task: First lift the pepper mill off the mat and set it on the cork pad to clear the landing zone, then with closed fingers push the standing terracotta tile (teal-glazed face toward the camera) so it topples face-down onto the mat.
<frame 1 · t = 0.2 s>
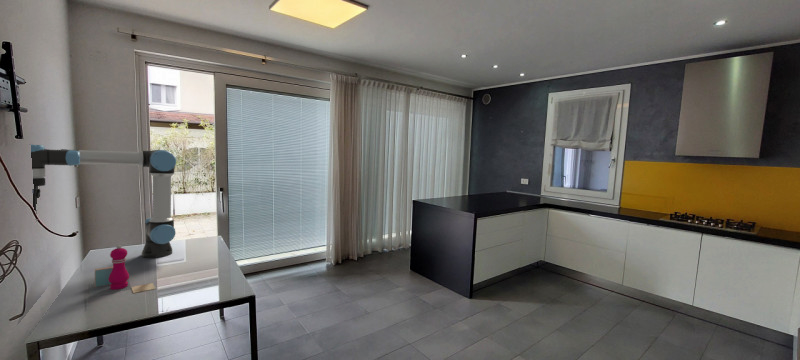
hand: (34, 222, 152), 28 cm above the table, fingers open, 13 cm apart
pepper mill: (119, 287, 149), resting on mat
mat: (110, 287, 149), on the table
cork pad: (143, 288, 149), on the table
tile: (106, 284, 151), resting on mat
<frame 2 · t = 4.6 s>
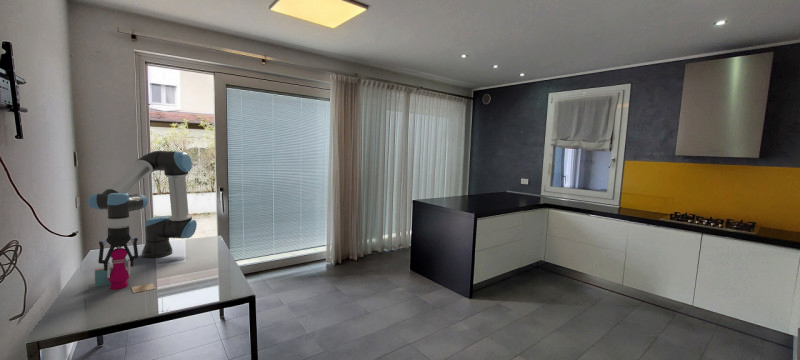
hand: (119, 275, 149), 6 cm above the table, fingers closed on pepper mill, 6 cm apart
pepper mill: (119, 287, 149), resting on mat, touching gripper
everything else where it was.
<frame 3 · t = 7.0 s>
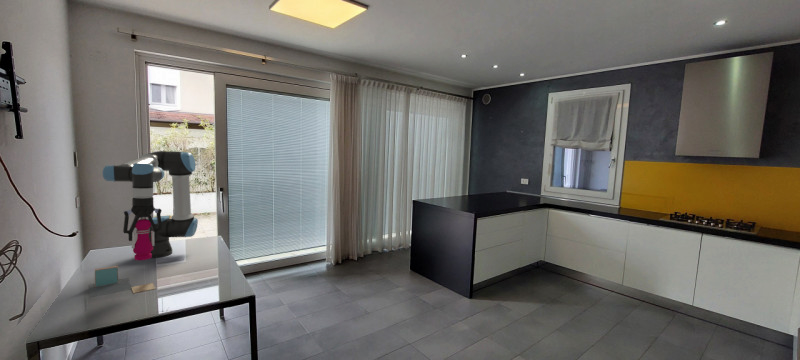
hand: (143, 246, 148), 20 cm above the table, fingers closed on pepper mill, 6 cm apart
pepper mill: (143, 258, 148), point 14 cm above the table, touching gripper
everything else where it was.
when the fingers open (7 cm above the table, at t = 9.6 s): pepper mill drops 1 cm, resting on cork pad.
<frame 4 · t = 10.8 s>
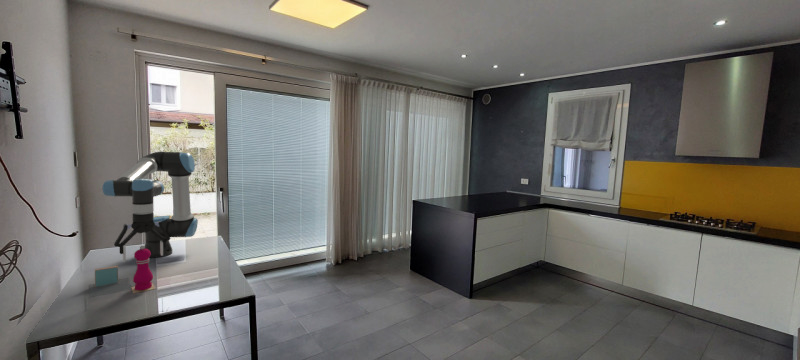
hand: (143, 257, 149), 15 cm above the table, fingers open, 13 cm apart
pepper mill: (143, 287, 149), resting on cork pad
everything else where it was.
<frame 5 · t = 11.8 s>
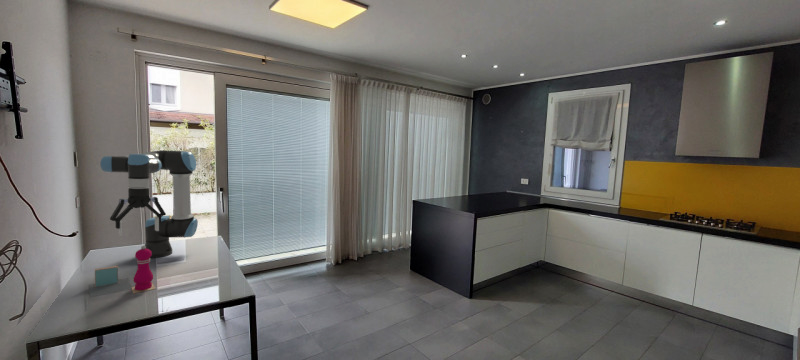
hand: (139, 232, 149), 26 cm above the table, fingers open, 13 cm apart
nothing on the table moved.
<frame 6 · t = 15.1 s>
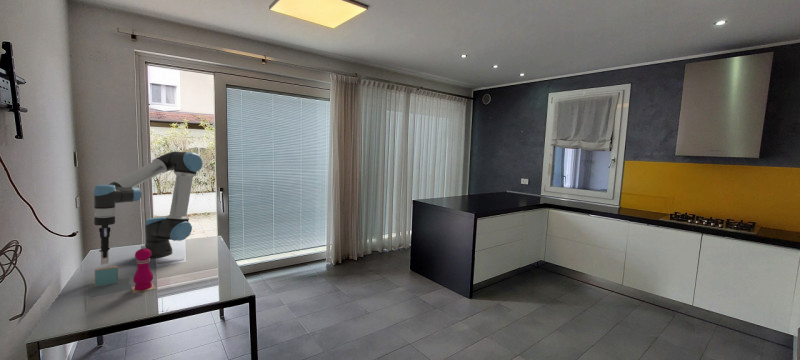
hand: (104, 263, 158), 8 cm above the table, fingers closed
nothing on the table moved.
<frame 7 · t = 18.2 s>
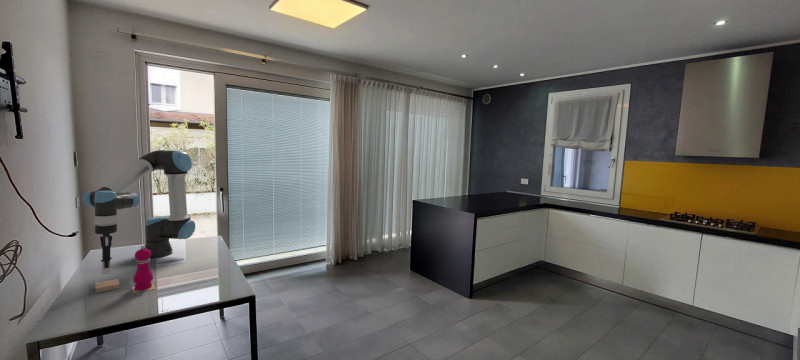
hand: (106, 274, 149), 6 cm above the table, fingers closed
tile: (106, 282, 151), point 1 cm above the table, tilted 90°, touching mat
everything else where it was.
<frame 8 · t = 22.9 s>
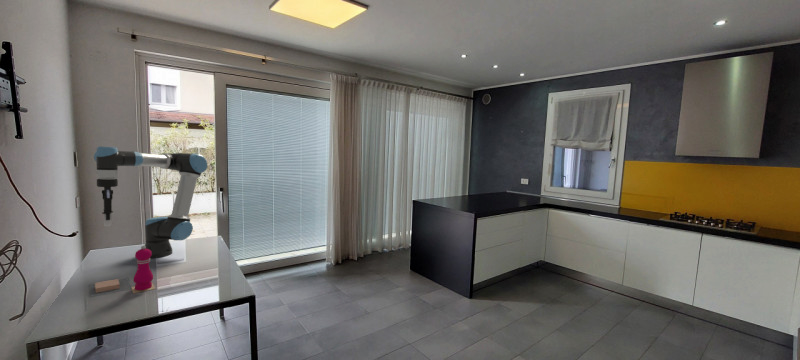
hand: (107, 226, 157), 26 cm above the table, fingers closed
nothing on the table moved.
at the end: tile tilted 90°; tile inside the target area (4.9 cm from its centre), point 1.4 cm above the table; pepper mill 0.1 cm from the cork pad (horizontally) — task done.
